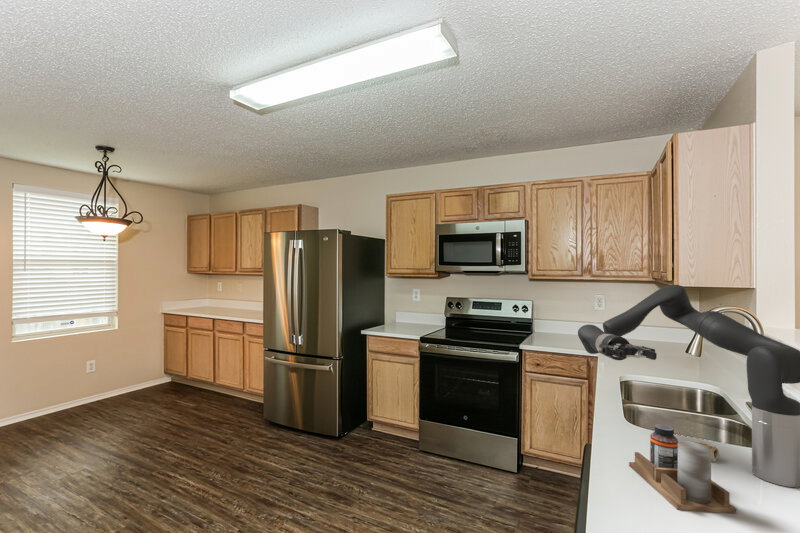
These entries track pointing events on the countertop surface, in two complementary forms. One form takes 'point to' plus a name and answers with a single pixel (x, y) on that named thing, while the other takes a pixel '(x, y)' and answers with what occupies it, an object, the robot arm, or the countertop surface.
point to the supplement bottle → (664, 447)
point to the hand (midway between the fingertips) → (639, 355)
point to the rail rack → (686, 480)
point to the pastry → (712, 452)
